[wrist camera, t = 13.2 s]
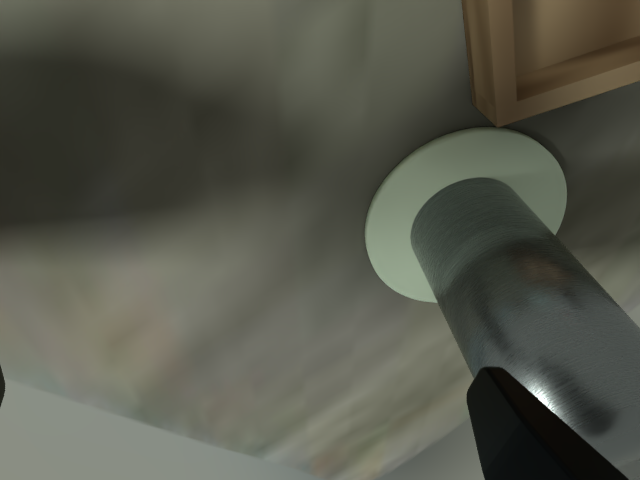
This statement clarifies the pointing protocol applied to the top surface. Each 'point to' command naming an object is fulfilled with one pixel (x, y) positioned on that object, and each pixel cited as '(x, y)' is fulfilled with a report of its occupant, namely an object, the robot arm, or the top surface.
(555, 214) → the drink coaster
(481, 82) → the light wooden tray
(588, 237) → the top surface
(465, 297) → the grey round cylinder
